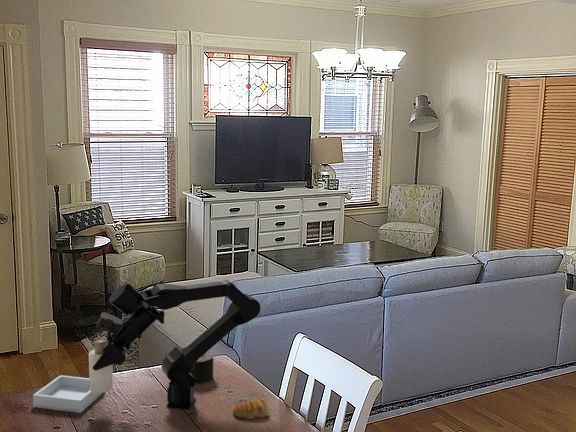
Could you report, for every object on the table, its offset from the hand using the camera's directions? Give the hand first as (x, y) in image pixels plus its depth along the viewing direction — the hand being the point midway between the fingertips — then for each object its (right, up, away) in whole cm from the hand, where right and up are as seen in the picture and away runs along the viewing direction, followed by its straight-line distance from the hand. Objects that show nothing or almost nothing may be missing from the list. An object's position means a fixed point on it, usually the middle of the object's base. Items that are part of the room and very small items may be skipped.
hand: (95, 364), depth 173 cm
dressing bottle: (+1, -7, +1) cm, 7 cm away
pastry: (+42, -15, +4) cm, 44 cm away
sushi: (+24, -10, +26) cm, 37 cm away
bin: (-10, -12, +9) cm, 18 cm away
